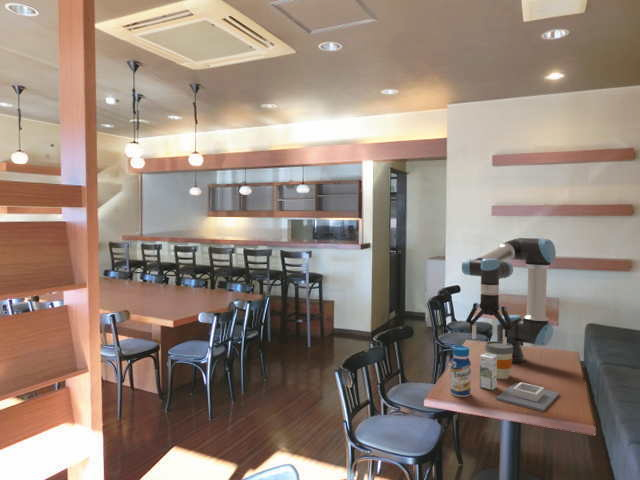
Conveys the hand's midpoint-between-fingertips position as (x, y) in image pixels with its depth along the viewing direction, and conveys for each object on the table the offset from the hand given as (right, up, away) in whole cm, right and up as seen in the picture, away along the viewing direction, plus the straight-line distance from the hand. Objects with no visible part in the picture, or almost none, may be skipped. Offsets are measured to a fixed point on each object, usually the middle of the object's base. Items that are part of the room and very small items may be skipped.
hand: (488, 341), depth 198 cm
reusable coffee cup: (+11, -20, +16) cm, 28 cm away
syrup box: (0, -21, +1) cm, 21 cm away
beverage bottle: (-15, -21, -6) cm, 26 cm away
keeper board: (+13, -21, -10) cm, 27 cm away
